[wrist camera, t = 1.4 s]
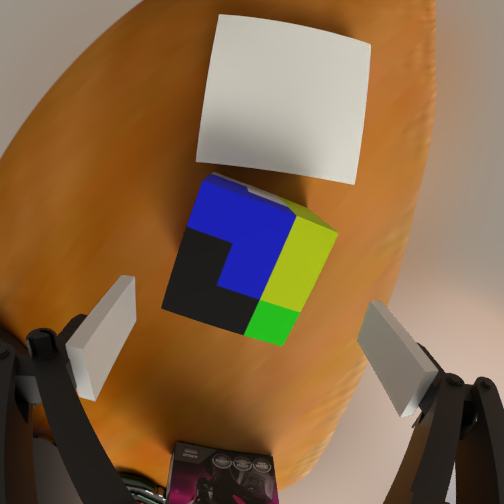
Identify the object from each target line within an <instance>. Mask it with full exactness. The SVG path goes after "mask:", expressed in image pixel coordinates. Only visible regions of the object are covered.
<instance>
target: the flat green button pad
mask: <svg viewBox="0 0 504 504" xmlns="http://www.w3.org/2000/svg"><path fill="white" fill-rule="evenodd" d="M119 476H120V477H121V479H122V481H123V482H124V484H125V485H126V487H127V488H128V490H129V491H130V493H131V494H132V496H133V497H134V499H135V500H136V501H137V502H138V503H139V504H165V501H166V492H165V489H163V488H161V487H156V484H154V483H152V482H150V481H148V480H146V479H144V478H142V477H139V476H135V475H130V474H125V473H120V474H119Z"/></svg>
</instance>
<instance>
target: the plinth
mask: <svg viewBox="0 0 504 504" xmlns="http://www.w3.org/2000/svg"><path fill="white" fill-rule="evenodd" d="M370 53H371V44H368V43H365V42H362V41H359V40H356V39H352V38H349V37H346V36H342V35H339V34H335V33H331V32H327V31H323V30H319V29H315V28H311V27H306V26H301V25H297V24H291V23H286V22H280V21H274V20H268V19H261V18H253V17H245V16H235V15H223V14H219V18H218V23H217V28H216V33H215V38H214V44H213V49H212V54H211V60H210V66H209V71H208V77H207V84H206V90H205V96H204V103H203V110H202V116H201V124H200V131H199V139H198V147H197V155H196V162H204V163H214V164H223V165H232V166H240V167H248V168H256V169H264V170H271V171H278V172H284V173H291V174H297V175H303V176H309V177H315V178H321V179H327V180H332V181H338V182H343V183H348V184H353V185H355V179H356V173H357V167H358V160H359V154H360V147H361V140H362V133H363V125H364V117H365V108H366V99H367V90H368V79H369V67H370Z"/></svg>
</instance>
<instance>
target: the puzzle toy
mask: <svg viewBox="0 0 504 504" xmlns="http://www.w3.org/2000/svg"><path fill="white" fill-rule="evenodd" d="M338 234H339V233H338V232H337V231H336V230H334V229H333V228H332V227H331V226H329V225H328V224H327V223H326V222H324V221H323V220H322V219H321V218H319V217H318V216H317V215H316V214H314V213H313V212H312V211H311V210H309V209H308V208H306V207H304V206H301V205H299V204H297V203H294V202H292V201H289V200H287V199H284V198H282V197H279V196H277V195H274V194H272V193H269V192H267V191H264V190H262V189H259V188H256V187H254V186H251V185H249V184H246V183H243V182H241V181H238V180H235V179H233V178H230V177H227V176H224V175H222V174H219V173H216V172H212V173H211V174H210V175H209V176H207V177H206V178H205V179H204V180H203V181H202V184H201V187H200V189H199V192H198V195H197V198H196V201H195V203H194V206H193V209H192V212H191V215H190V218H189V221H188V224H187V227H186V230H185V233H184V236H183V239H182V242H181V245H180V248H179V251H178V254H177V257H176V260H175V263H174V267H173V270H172V273H171V276H170V280H169V283H168V286H167V290H166V293H165V296H164V300H163V303H162V307H161V308H162V309H165V310H167V311H170V312H173V313H176V314H179V315H182V316H185V317H188V318H191V319H194V320H197V321H200V322H203V323H206V324H209V325H212V326H215V327H218V328H222V329H225V330H228V331H231V332H234V333H238V334H241V335H244V336H248V337H251V338H255V339H258V340H262V341H265V342H269V343H273V344H276V345H280V346H283V344H284V342H285V340H286V339H287V337H288V335H289V333H290V331H291V329H292V327H293V325H294V324H295V322H296V320H297V318H298V316H299V314H300V312H301V310H302V308H303V306H304V304H305V302H306V300H307V298H308V296H309V294H310V292H311V290H312V288H313V286H314V284H315V282H316V280H317V278H318V276H319V274H320V272H321V270H322V268H323V266H324V264H325V261H326V259H327V257H328V255H329V253H330V251H331V249H332V247H333V244H334V242H335V240H336V238H337V236H338Z"/></svg>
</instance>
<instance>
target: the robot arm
mask: <svg viewBox="0 0 504 504" xmlns="http://www.w3.org/2000/svg"><path fill="white" fill-rule="evenodd" d="M135 322H136V300H135V277H134V276H127V275H121V276H120V278H119V279H118V280H117V281H116V282H115V283H114V285H113V286H112V287H111V288H110V289H109V290H108V292H107V293H106V294H105V295H104V296H103V298H102V299H101V300H100V301H99V303H98V304H97V305H96V306H95V307H94V309H93V310H92V311H91V312H90V314H89V315H83V314H79V315H77V316H76V317H74V318H72V319H71V320H70V322H69V323H68V324H67V326H65V327H64V329H63V331H61V332H60V333H59V335H58V336H57V334H56V333H55V331H53V330H51V329H48V328H38V329H35V330H33V331H31V332H30V333H29V334H28V335H27V336H26V343H27V346H28V350H29V351H28V350H27V349H26V348H25V347H24V346H23V345H22V344H21V343H20V342H19V341H18V340H17V339H16V338H14V337H13V336H12V335H10V334H9V333H7V332H6V331H4V330H2V329H0V504H38V500H37V492H36V484H35V475H34V462H33V440H32V412H33V407H35V406H37V405H38V404H39V403H42V404H43V407H44V410H45V413H46V417H47V420H48V423H49V426H50V429H51V431H52V434H53V437H54V440H55V442H56V445H57V447H58V450H59V453H60V455H61V457H62V460H63V462H64V465H65V467H66V469H67V471H68V473H69V475H70V478H71V480H72V482H73V484H74V486H75V488H76V490H77V492H78V494H79V496H80V498H81V500H82V502H83V504H139V503H138V502H137V501H136V500H135V499H134V497H133V496H132V494H131V493H130V491H129V490H128V488H127V487H126V485H125V484H124V482H123V481H122V479H121V477H120V476H119V474H118V473H117V471H116V469H115V468H114V466H113V464H112V463H111V461H110V459H109V458H108V456H107V454H106V452H105V450H104V449H103V447H102V445H101V443H100V441H99V439H98V437H97V436H96V434H95V432H94V430H93V428H92V426H91V424H90V422H89V420H88V417H87V415H86V413H85V411H84V409H83V407H82V405H81V402H80V400H79V398H78V395H77V393H76V391H75V389H76V387H77V391H78V394H79V397H82V398H85V399H89V400H93V401H96V399H97V397H98V395H99V393H100V391H101V389H102V386H103V384H104V382H105V380H106V378H107V376H108V374H109V372H110V370H111V368H112V366H113V364H114V362H115V360H116V358H117V356H118V354H119V353H120V351H121V349H122V347H123V345H124V343H125V341H126V339H127V337H128V335H129V333H130V332H131V330H132V328H133V326H134V324H135ZM357 341H358V343H359V345H360V346H361V348H362V350H363V351H364V353H365V355H366V357H367V358H368V360H369V362H370V363H371V365H372V367H373V369H374V371H375V372H376V374H377V376H378V378H379V380H380V381H381V383H382V385H383V387H384V389H385V390H386V392H387V394H388V396H389V397H390V400H391V401H392V403H393V405H394V407H395V409H396V411H397V413H398V414H399V416H400V417H405V416H411V415H413V414H414V412H415V411H416V409H417V408H418V406H419V407H420V409H421V410H422V412H421V413H420V415H419V417H418V418H417V420H416V421H415V423H414V424H413V426H412V428H414V426H415V428H414V431H413V434H412V437H411V440H410V442H409V445H408V448H407V451H406V454H405V456H404V458H403V461H402V463H401V465H400V468H399V471H398V473H397V475H396V477H395V480H394V482H393V484H392V486H391V488H390V491H389V492H388V494H387V496H386V499H385V501H384V503H383V504H450V503H448V502H445V498H446V494H447V491H448V487H449V484H450V479H451V475H452V471H453V466H454V462H455V470H456V504H504V408H503V405H502V402H501V399H500V396H499V393H498V390H497V388H496V386H495V384H494V383H493V382H492V380H491V379H489V378H486V377H478V378H477V379H476V381H475V383H474V384H473V385H469V384H465V383H464V381H463V380H462V379H461V378H460V377H459V376H457V375H455V374H452V373H445V372H444V370H443V369H442V368H441V367H440V365H439V364H438V363H437V362H436V360H434V358H433V357H432V356H431V355H430V353H429V352H428V351H427V350H426V348H425V347H423V346H422V345H420V344H419V343H416V342H415V341H414V339H413V338H412V337H411V336H410V335H409V333H408V332H407V331H406V330H405V329H404V327H403V326H402V325H401V324H400V323H399V322H398V321H397V319H396V318H395V317H394V316H393V314H392V313H391V312H390V311H389V310H388V309H387V307H386V306H385V305H384V304H383V303H382V302H381V301H370V303H369V306H368V309H367V312H366V315H365V318H364V321H363V324H362V327H361V330H360V333H359V336H358V339H357ZM476 419H477V421H476Z"/></svg>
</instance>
